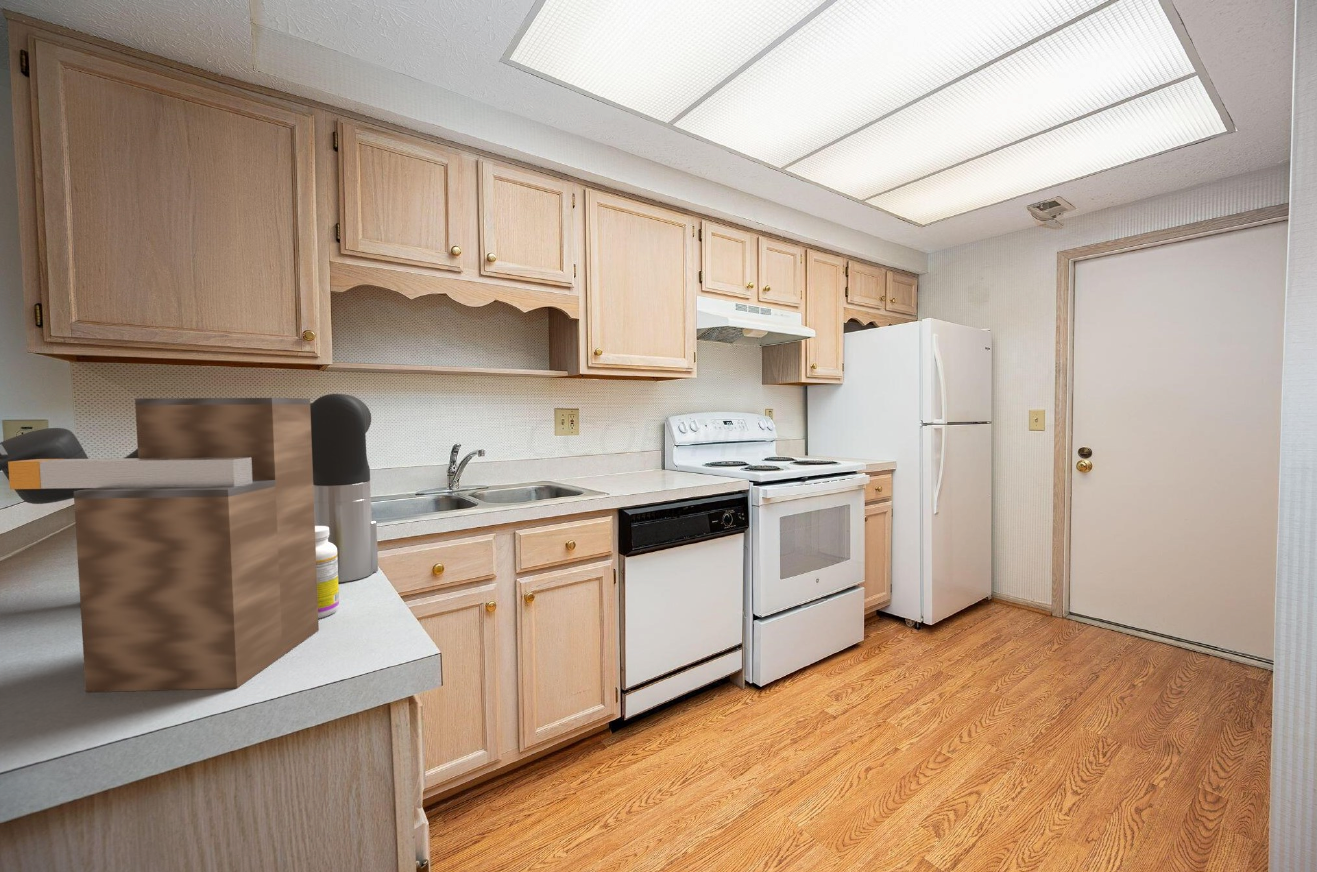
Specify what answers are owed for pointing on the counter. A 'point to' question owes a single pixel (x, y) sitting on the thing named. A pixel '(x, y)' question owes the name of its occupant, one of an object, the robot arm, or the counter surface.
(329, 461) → the robot arm
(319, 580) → the supplement bottle
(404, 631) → the counter surface
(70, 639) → the counter surface
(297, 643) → the stand
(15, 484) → the bar
